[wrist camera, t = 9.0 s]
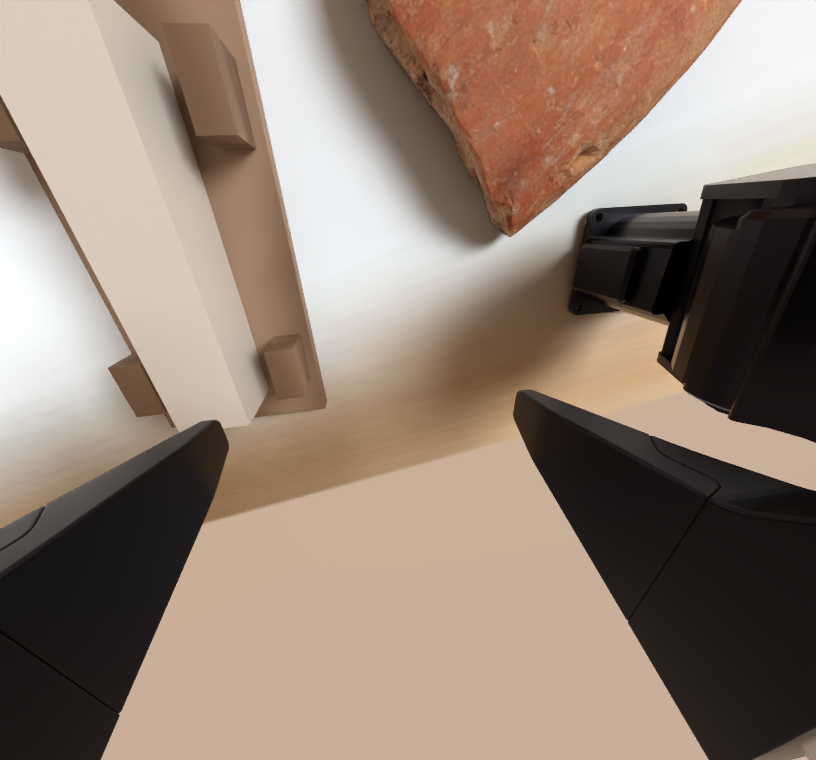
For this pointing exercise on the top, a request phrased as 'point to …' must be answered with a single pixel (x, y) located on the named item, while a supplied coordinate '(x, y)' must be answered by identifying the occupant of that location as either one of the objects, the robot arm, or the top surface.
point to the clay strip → (133, 197)
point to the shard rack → (223, 197)
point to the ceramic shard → (542, 81)
